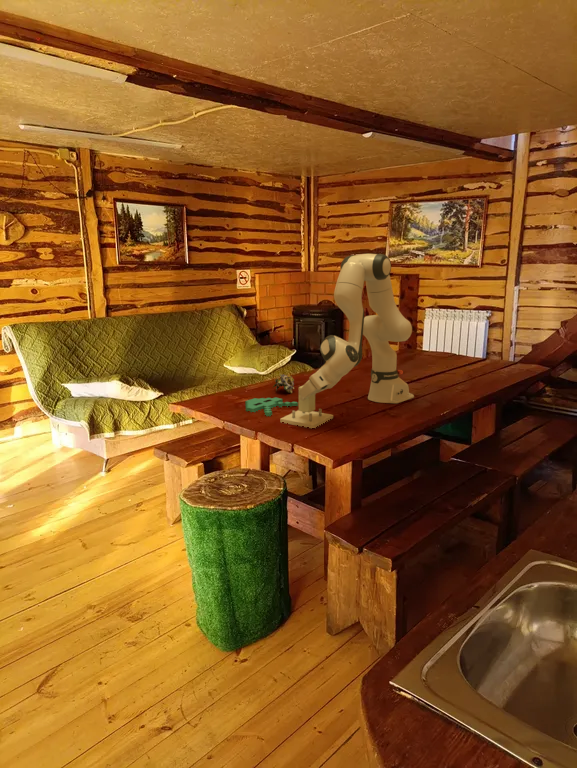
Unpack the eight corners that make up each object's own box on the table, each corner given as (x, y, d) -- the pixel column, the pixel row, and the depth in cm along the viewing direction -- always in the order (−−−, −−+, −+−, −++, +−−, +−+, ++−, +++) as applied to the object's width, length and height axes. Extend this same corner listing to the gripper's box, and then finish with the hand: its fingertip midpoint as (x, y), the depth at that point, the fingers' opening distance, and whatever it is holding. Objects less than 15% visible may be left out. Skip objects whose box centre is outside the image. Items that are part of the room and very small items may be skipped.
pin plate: (300, 412, 240) (300, 402, 239) (333, 418, 232) (333, 408, 230) (280, 422, 227) (280, 411, 226) (314, 428, 218) (314, 418, 217)
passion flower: (290, 403, 272) (291, 388, 263) (269, 398, 274) (269, 383, 265) (296, 386, 279) (297, 371, 270) (275, 381, 281) (276, 366, 272)
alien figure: (297, 407, 250) (264, 399, 262) (297, 402, 249) (264, 395, 261) (268, 417, 235) (235, 409, 247) (268, 412, 234) (234, 404, 246)
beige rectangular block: (304, 407, 231) (304, 384, 229) (315, 409, 229) (315, 386, 226) (298, 410, 227) (298, 387, 225) (309, 412, 225) (309, 388, 222)
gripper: (334, 366, 229) (313, 386, 236) (309, 376, 212) (287, 397, 219) (343, 378, 227) (322, 397, 235) (319, 388, 211) (297, 409, 218)
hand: (305, 397), depth 227 cm, fingers closed on beige rectangular block, 5 cm apart
